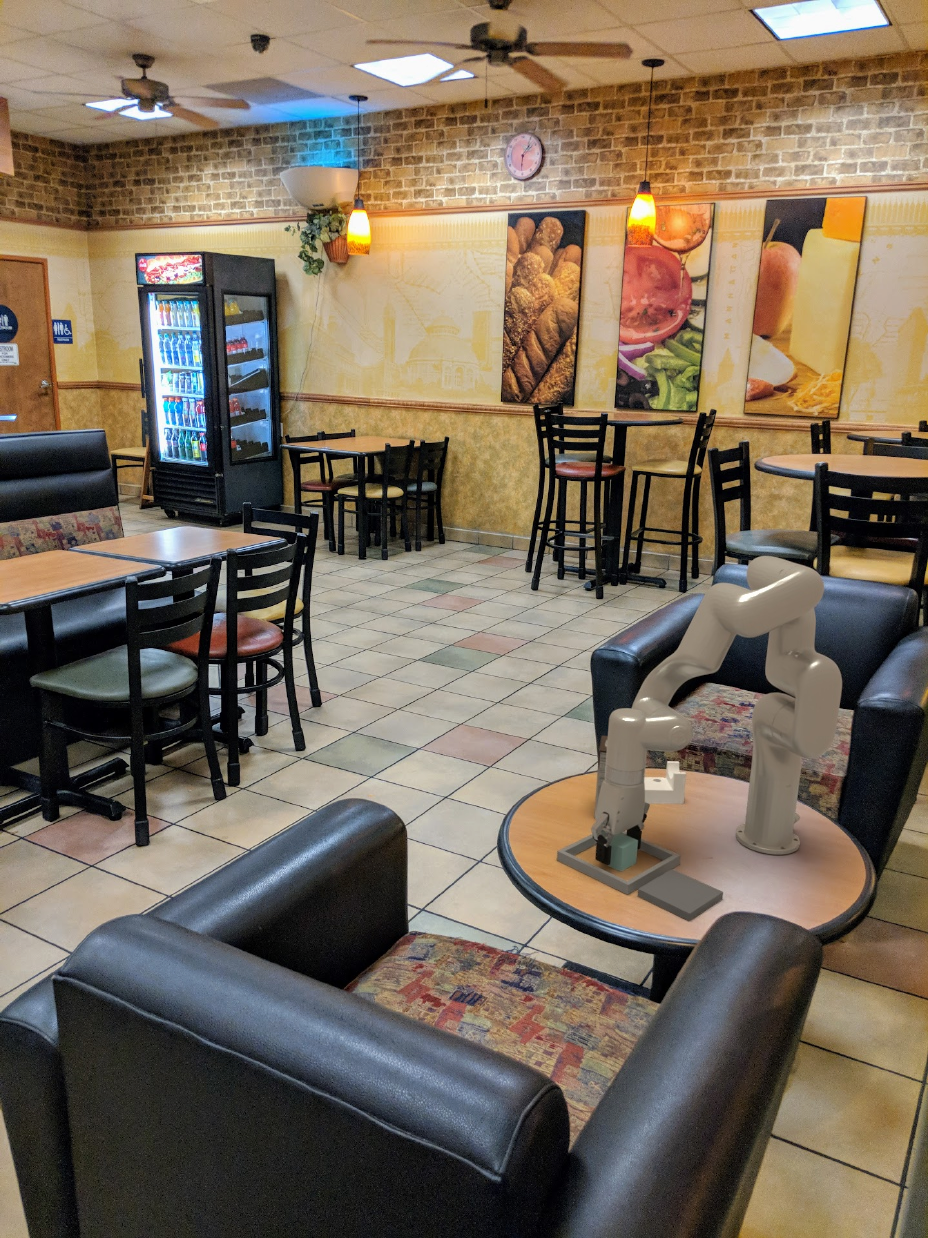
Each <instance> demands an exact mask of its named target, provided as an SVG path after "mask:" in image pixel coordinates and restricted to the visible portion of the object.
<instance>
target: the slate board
mask: <svg viewBox="0 0 928 1238" xmlns="http://www.w3.org/2000/svg"><path fill="white" fill-rule="evenodd" d="M636 895H637V897H638V898H640V899H643V900H645V901H647V902H649V903H650V904H653V905H654V906H657V907H659V908H661V909H662V910H665V911H667V912H668V913H671V914H673V915H676V916H678V917H679V918H682V919H683V920H685V921H688V922H690V921H691V920H693V919H695V918H696V917H698V916H700V915H701V914H702V913H704V912H705V911H707V910H709V909H710V908H711V907H713V906H714V905H716V904H718V903H719V902H721V901H722V900H723V899H724V898H723V897H724V896H723V895H724V891H722V890H721V889H719V888H715V887H714V886H711V885H710V884H709V885H708V884H707V883H705V882H702V881H700V880H698V879H696V878H693V877H691V876H689V875H687V874H685V873H682V872H679V871H677V870H675V869H674V868H673V869H671V870H669V871H668V872H666V873H664V874H662V875H661V876H659V877H657V878H656V879H654V880H652V881H650V882H649V883H647V884H645V885H643V886H642V887H640V888H638V889H637V894H636Z"/></svg>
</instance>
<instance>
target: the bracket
mask: <svg viewBox="0 0 928 1238" xmlns="http://www.w3.org/2000/svg"><path fill="white" fill-rule="evenodd" d="M665 768H666V771H665V777H662V776H661V777H658V776H657V777H656V776H655V777H654V776H645V778H644V783H645V802H646V803H648V804H654V805H655V804H656V805H657V804H659V805H660V804H661V805H663V804H664V805H684V803H685V802H684V801H685V790H686V782H687V781H686V780H687V779H686V778H687V773H686V772H685V771H684V772H683V771H681V772H680V762H679V760H678V761H677V760H674V761H673V760H670V761H668V760H667V761H666V767H665Z"/></svg>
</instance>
